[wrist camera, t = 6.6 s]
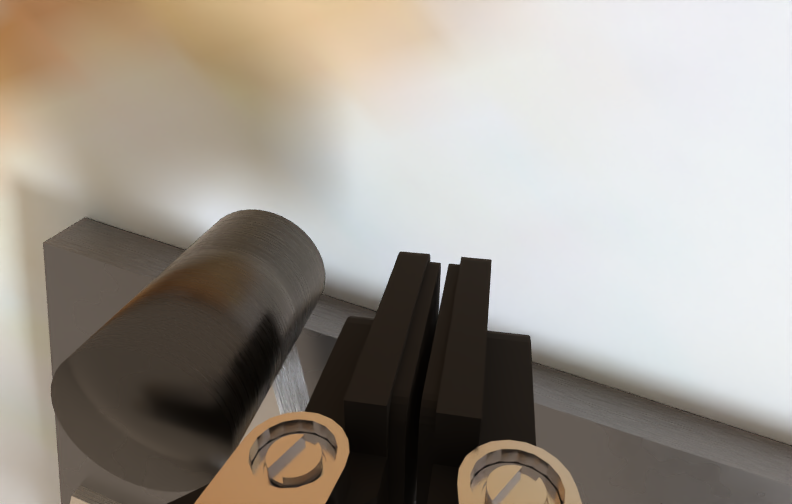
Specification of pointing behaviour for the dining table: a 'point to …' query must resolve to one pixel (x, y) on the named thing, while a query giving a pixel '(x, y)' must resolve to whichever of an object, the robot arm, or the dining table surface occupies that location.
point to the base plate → (553, 390)
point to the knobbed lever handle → (196, 356)
